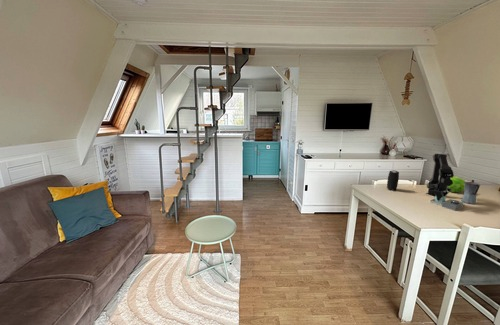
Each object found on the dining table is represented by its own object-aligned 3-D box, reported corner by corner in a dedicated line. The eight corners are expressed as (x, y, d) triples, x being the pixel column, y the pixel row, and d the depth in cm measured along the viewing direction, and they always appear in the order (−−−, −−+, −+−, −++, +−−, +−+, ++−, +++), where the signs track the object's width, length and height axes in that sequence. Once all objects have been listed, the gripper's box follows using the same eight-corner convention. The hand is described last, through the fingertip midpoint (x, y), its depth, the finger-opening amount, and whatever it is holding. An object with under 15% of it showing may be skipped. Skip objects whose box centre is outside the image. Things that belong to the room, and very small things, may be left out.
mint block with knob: (437, 199, 175) (438, 193, 174) (445, 201, 171) (446, 194, 170) (434, 201, 173) (435, 194, 172) (442, 203, 169) (443, 196, 167)
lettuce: (468, 194, 198) (475, 180, 194) (455, 195, 192) (462, 180, 188) (448, 187, 214) (454, 174, 209) (436, 187, 207) (441, 174, 203)
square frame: (436, 200, 179) (437, 194, 178) (462, 207, 164) (463, 201, 163) (428, 202, 174) (430, 196, 173) (455, 210, 159) (456, 203, 158)
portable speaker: (390, 187, 213) (393, 169, 209) (399, 190, 204) (402, 172, 200) (384, 188, 211) (386, 170, 206) (392, 191, 202) (395, 172, 198)
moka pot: (470, 199, 180) (475, 178, 176) (482, 206, 166) (488, 183, 162) (456, 198, 183) (461, 177, 179) (467, 205, 169) (473, 182, 165)
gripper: (437, 178, 180) (433, 195, 183) (425, 181, 172) (422, 198, 175) (453, 182, 170) (449, 199, 173) (442, 185, 162) (438, 203, 165)
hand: (439, 200), depth 172 cm, fingers closed on mint block with knob, 5 cm apart
